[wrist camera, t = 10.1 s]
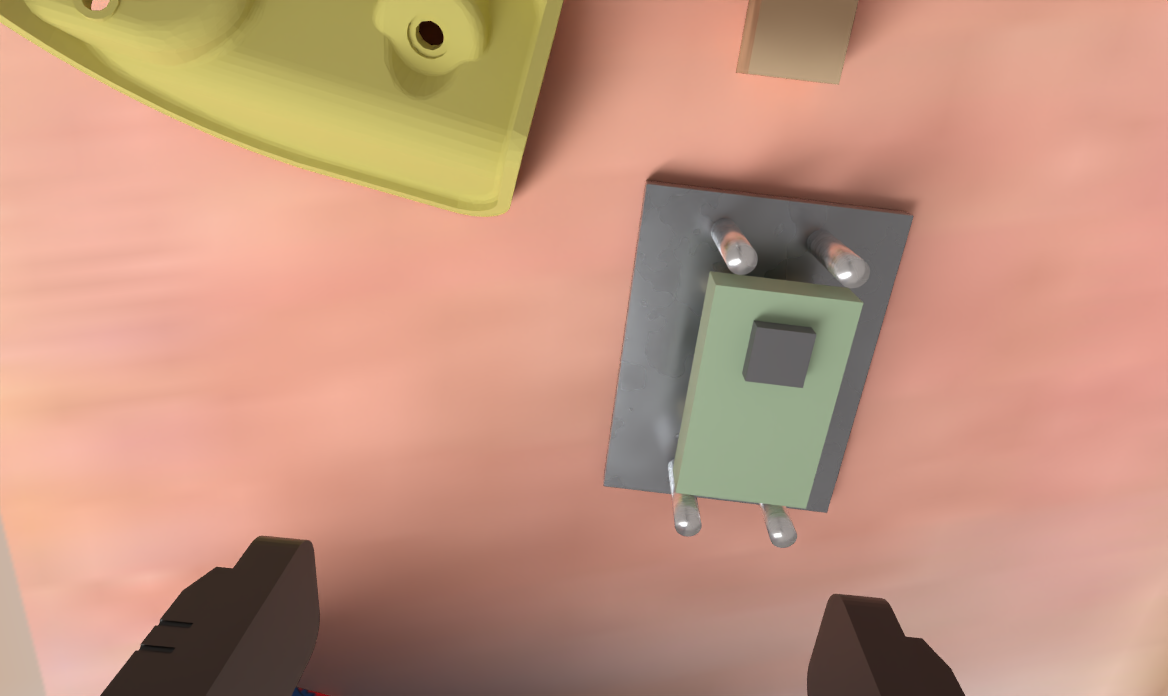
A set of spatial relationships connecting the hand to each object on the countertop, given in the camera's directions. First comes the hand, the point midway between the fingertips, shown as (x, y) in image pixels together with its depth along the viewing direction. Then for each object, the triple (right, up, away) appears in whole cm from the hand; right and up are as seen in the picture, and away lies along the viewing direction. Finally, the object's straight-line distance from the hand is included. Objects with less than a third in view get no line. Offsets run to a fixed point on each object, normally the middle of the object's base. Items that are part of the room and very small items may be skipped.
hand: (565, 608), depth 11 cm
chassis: (+8, +4, +24) cm, 26 cm away
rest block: (+9, +19, +18) cm, 28 cm away
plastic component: (-10, +18, +20) cm, 29 cm away
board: (+8, +2, +21) cm, 23 cm away
